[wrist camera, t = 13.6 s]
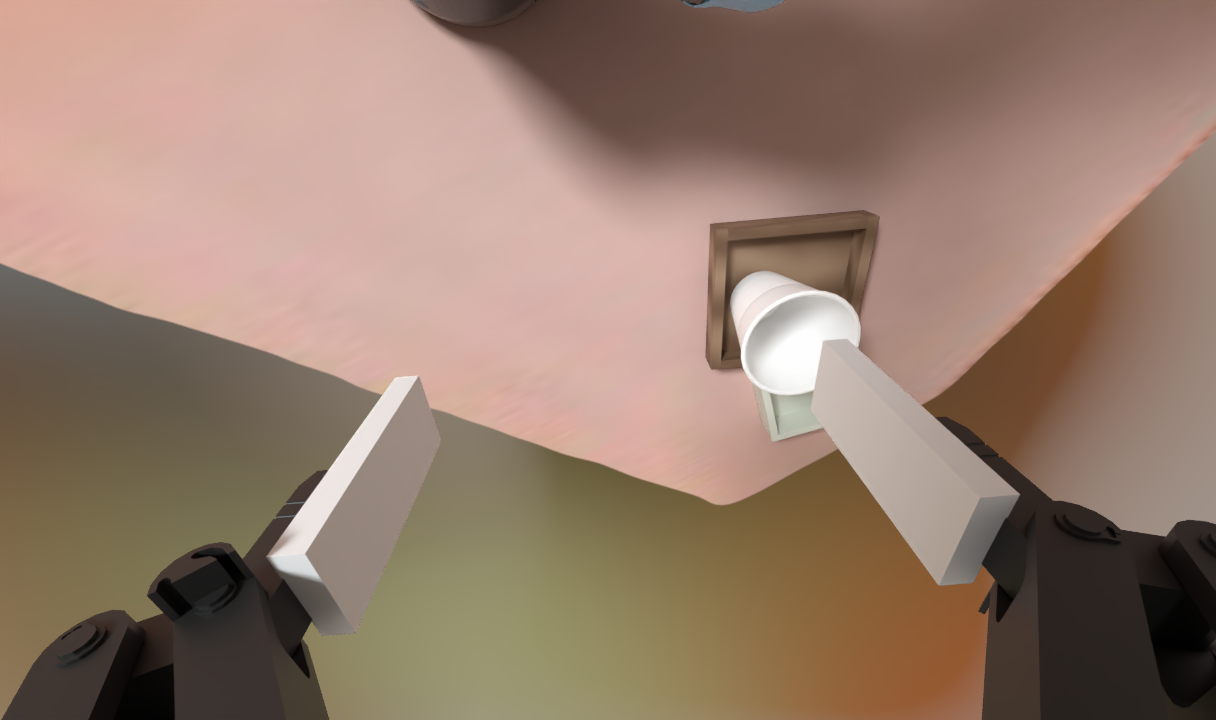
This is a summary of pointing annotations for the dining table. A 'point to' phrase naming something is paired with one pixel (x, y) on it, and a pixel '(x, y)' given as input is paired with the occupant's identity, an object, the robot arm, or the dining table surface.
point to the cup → (787, 330)
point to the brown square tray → (784, 265)
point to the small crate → (786, 414)
